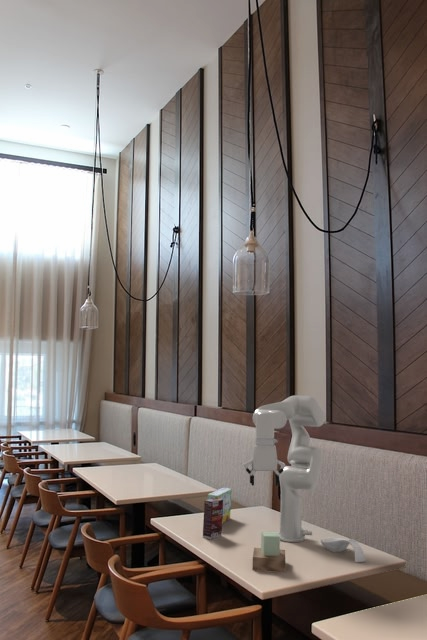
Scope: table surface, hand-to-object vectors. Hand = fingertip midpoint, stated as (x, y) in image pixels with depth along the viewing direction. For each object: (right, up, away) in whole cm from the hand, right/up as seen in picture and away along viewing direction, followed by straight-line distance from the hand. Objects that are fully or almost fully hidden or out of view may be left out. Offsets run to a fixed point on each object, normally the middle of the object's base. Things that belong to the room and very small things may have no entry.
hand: (264, 484), depth 226 cm
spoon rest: (+33, -30, +4) cm, 45 cm away
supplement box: (-21, -30, +22) cm, 42 cm away
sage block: (+1, -22, -14) cm, 26 cm away
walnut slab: (0, -27, -15) cm, 31 cm away
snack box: (-18, -33, +47) cm, 60 cm away
